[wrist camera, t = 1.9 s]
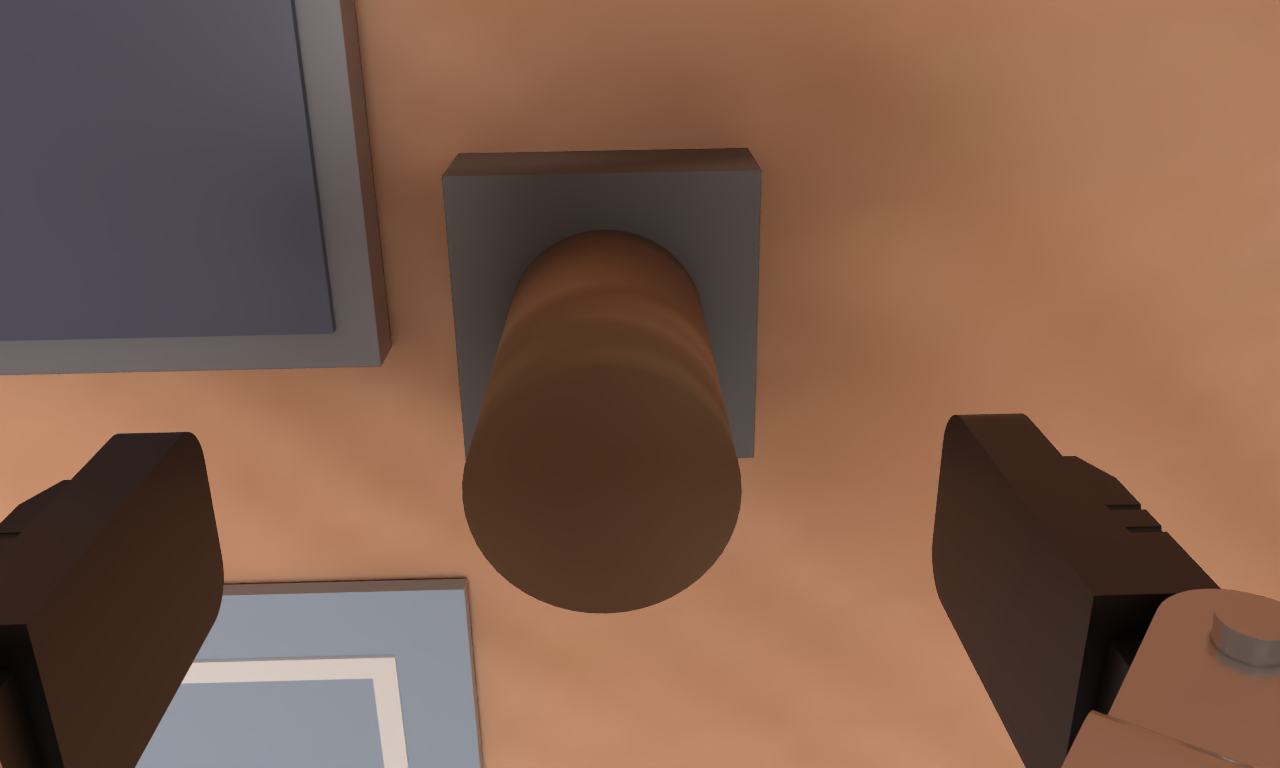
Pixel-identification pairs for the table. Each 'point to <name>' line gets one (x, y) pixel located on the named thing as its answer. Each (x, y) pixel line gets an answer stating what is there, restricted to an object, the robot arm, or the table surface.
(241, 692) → the mat
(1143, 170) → the table surface
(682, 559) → the stamp
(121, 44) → the pad
